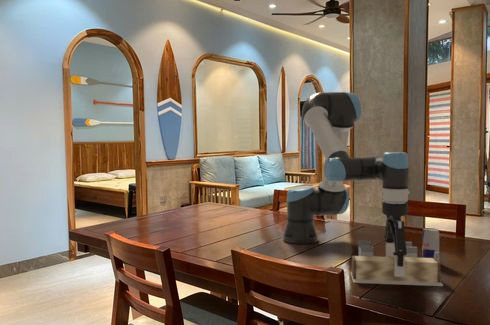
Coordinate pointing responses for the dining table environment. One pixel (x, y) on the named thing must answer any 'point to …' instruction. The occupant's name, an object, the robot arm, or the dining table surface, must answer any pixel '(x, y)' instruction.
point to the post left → (365, 249)
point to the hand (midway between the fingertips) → (394, 269)
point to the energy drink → (430, 243)
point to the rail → (385, 269)
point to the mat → (397, 282)
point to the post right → (410, 250)
